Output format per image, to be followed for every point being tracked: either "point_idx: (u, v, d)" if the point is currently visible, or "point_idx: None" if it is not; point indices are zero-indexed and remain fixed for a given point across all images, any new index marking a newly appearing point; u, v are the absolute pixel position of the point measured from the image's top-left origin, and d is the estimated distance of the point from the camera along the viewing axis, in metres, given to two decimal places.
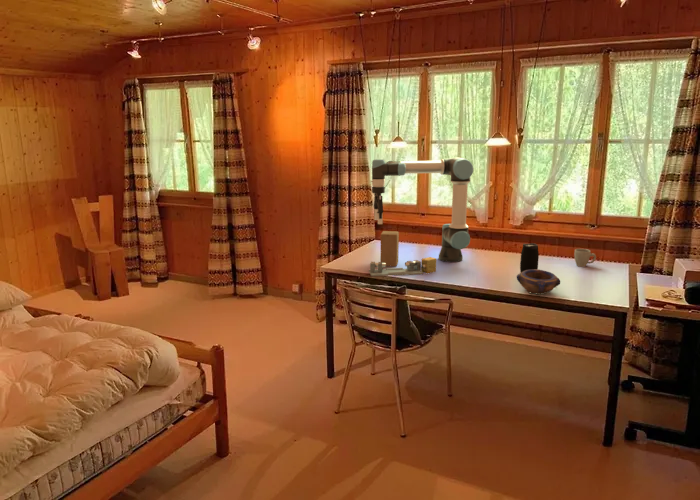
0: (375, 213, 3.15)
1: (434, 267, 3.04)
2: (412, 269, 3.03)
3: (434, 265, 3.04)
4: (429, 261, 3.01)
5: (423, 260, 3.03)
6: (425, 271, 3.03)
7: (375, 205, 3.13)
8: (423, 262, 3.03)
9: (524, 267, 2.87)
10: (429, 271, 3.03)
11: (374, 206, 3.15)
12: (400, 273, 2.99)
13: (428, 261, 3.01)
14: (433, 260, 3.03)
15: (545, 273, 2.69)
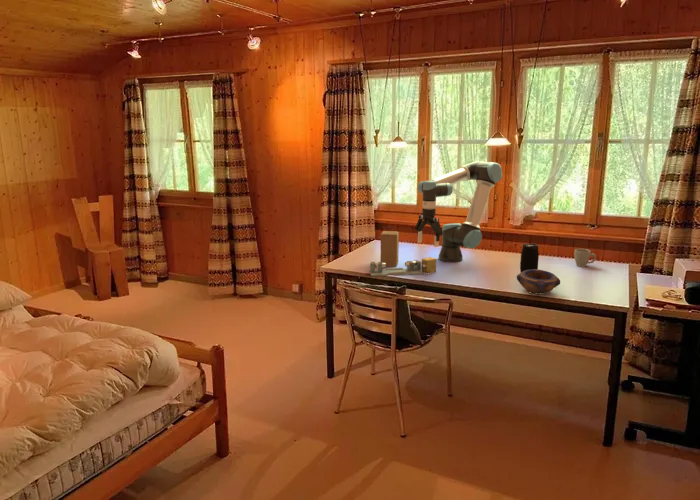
0: (419, 235, 3.06)
1: (434, 267, 3.04)
2: (412, 269, 3.03)
3: (434, 265, 3.04)
4: (429, 261, 3.01)
5: (423, 260, 3.03)
6: (425, 271, 3.03)
7: (420, 227, 3.04)
8: (423, 262, 3.03)
9: (524, 267, 2.87)
10: (429, 271, 3.03)
11: (418, 228, 3.05)
12: (400, 273, 2.99)
13: (428, 261, 3.01)
14: (433, 260, 3.03)
15: (545, 273, 2.69)
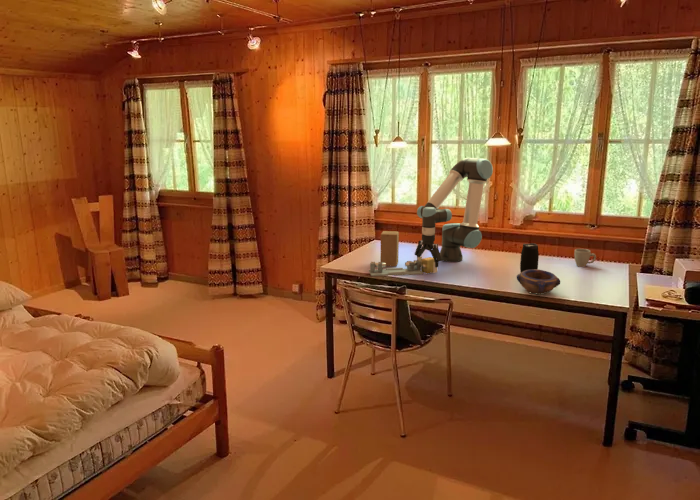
0: None
1: None
2: (412, 269, 3.03)
3: None
4: (429, 261, 3.01)
5: (423, 260, 3.03)
6: (425, 271, 3.03)
7: (420, 253, 3.07)
8: (423, 262, 3.03)
9: (524, 267, 2.87)
10: (429, 271, 3.03)
11: (418, 254, 3.08)
12: (400, 273, 2.99)
13: (428, 261, 3.01)
14: (433, 260, 3.03)
15: (545, 273, 2.69)
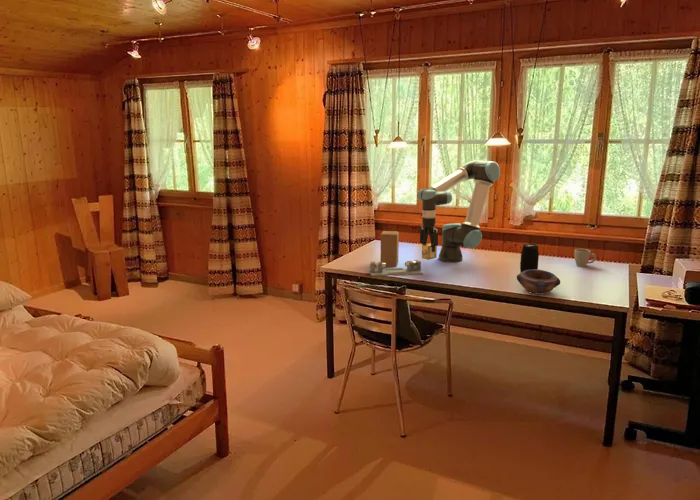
0: None
1: (434, 253, 3.03)
2: (412, 269, 3.03)
3: None
4: (429, 247, 3.00)
5: (423, 246, 3.01)
6: (426, 257, 3.01)
7: (424, 239, 3.03)
8: (423, 248, 3.02)
9: (524, 267, 2.87)
10: None
11: (422, 241, 3.04)
12: (400, 273, 2.99)
13: (428, 247, 2.99)
14: None
15: (545, 273, 2.69)
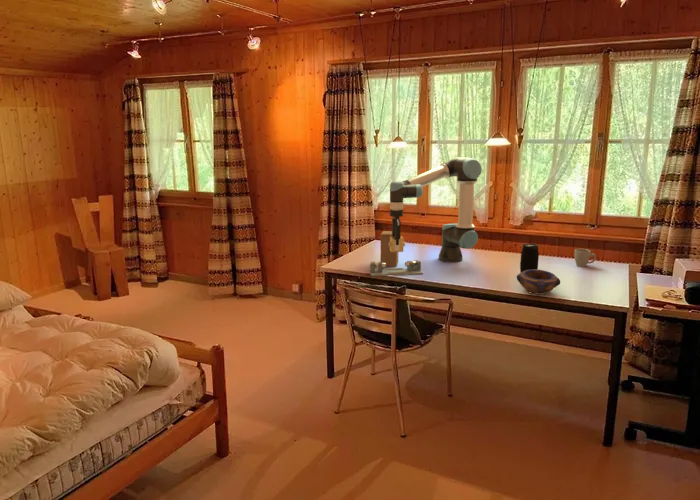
0: None
1: (401, 246, 2.98)
2: (412, 269, 3.03)
3: (400, 245, 2.98)
4: None
5: (390, 238, 3.00)
6: (390, 249, 2.99)
7: (393, 231, 3.01)
8: (390, 240, 3.00)
9: (524, 267, 2.87)
10: (394, 250, 2.98)
11: (392, 233, 3.02)
12: (400, 273, 2.99)
13: (392, 239, 2.96)
14: None
15: (545, 273, 2.69)
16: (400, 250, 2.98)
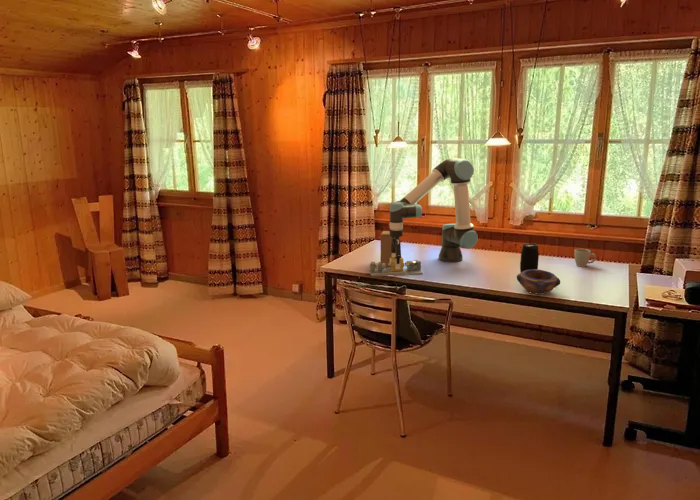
0: None
1: (400, 267, 3.01)
2: (412, 269, 3.03)
3: (400, 265, 3.01)
4: (393, 260, 2.99)
5: (390, 259, 3.03)
6: (390, 270, 3.02)
7: (392, 248, 3.05)
8: (390, 261, 3.03)
9: (524, 267, 2.87)
10: (394, 270, 3.01)
11: (391, 250, 3.07)
12: (400, 273, 2.99)
13: (392, 260, 2.99)
14: None
15: (545, 273, 2.69)
16: (400, 271, 3.01)
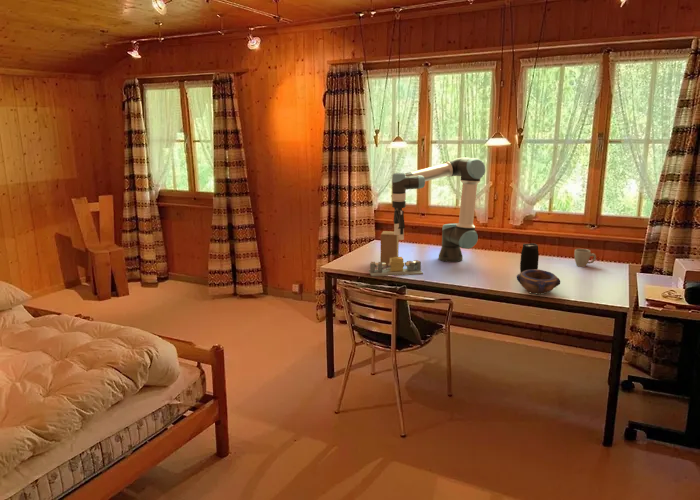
0: (395, 228, 3.05)
1: (400, 267, 3.01)
2: (412, 269, 3.03)
3: (400, 265, 3.01)
4: (393, 260, 2.99)
5: (390, 259, 3.03)
6: (390, 270, 3.02)
7: (395, 220, 3.03)
8: (390, 261, 3.03)
9: (524, 267, 2.87)
10: (394, 270, 3.01)
11: (394, 221, 3.05)
12: (400, 273, 2.99)
13: (392, 260, 2.99)
14: (399, 260, 3.00)
15: (545, 273, 2.69)
16: (400, 271, 3.01)
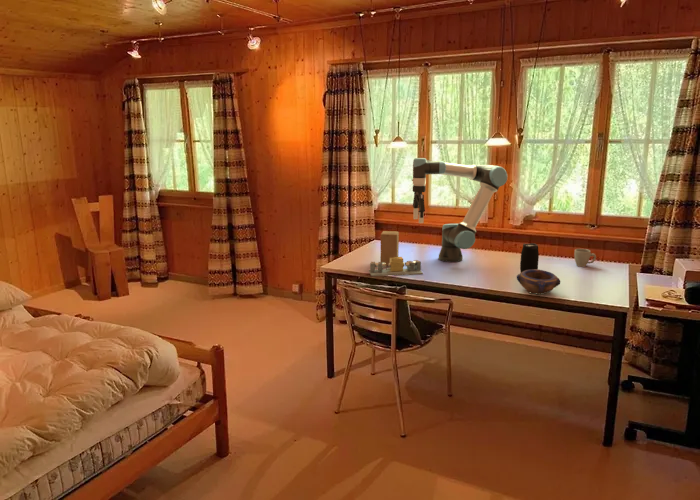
0: (414, 212, 3.13)
1: (400, 267, 3.01)
2: (412, 269, 3.03)
3: (400, 265, 3.01)
4: (393, 260, 2.99)
5: (390, 259, 3.03)
6: (390, 270, 3.02)
7: (415, 204, 3.10)
8: (390, 261, 3.03)
9: (524, 267, 2.87)
10: (394, 270, 3.01)
11: (413, 205, 3.12)
12: (400, 273, 2.99)
13: (392, 260, 2.99)
14: (399, 260, 3.00)
15: (545, 273, 2.69)
16: (400, 271, 3.01)
